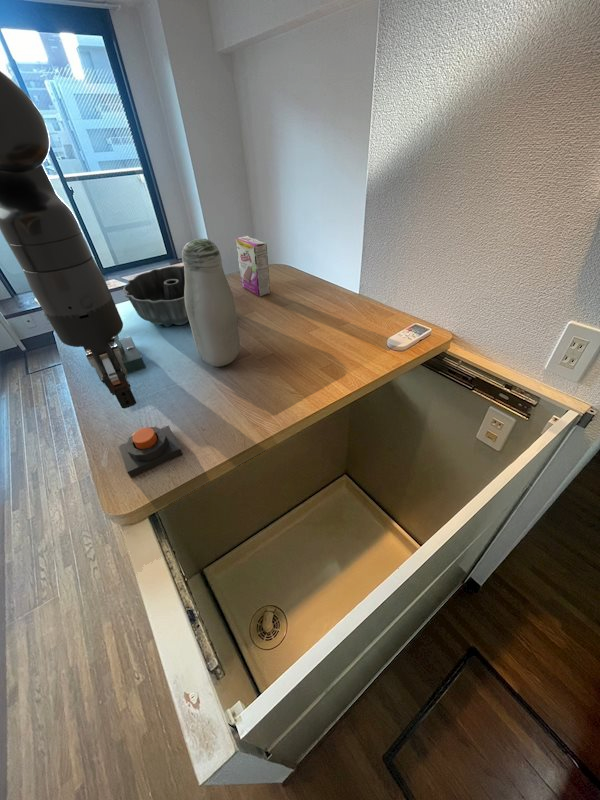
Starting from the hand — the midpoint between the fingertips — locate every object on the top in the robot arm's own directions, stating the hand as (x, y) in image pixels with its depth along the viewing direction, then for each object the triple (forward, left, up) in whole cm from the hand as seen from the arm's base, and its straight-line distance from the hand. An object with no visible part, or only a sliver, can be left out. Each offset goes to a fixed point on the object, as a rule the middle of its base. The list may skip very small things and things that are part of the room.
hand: (128, 404), depth 51 cm
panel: (+21, +27, -12) cm, 36 cm away
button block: (0, 0, -12) cm, 12 cm away
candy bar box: (+72, +14, -12) cm, 74 cm away
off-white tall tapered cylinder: (+30, +3, -12) cm, 33 cm away
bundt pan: (+49, +29, -12) cm, 58 cm away
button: (0, 0, -9) cm, 9 cm away
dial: (+21, +27, -9) cm, 35 cm away
